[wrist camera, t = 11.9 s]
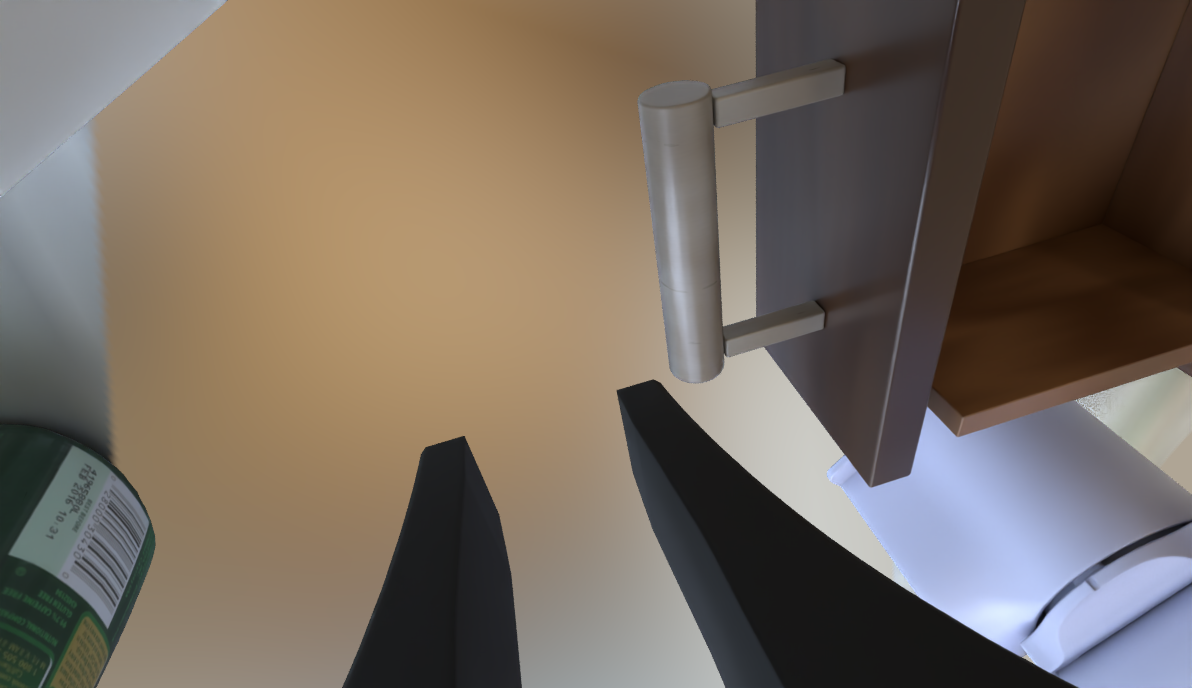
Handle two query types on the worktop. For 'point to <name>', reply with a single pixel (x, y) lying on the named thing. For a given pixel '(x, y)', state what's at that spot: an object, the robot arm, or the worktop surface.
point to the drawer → (939, 209)
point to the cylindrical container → (76, 66)
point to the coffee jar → (65, 559)
